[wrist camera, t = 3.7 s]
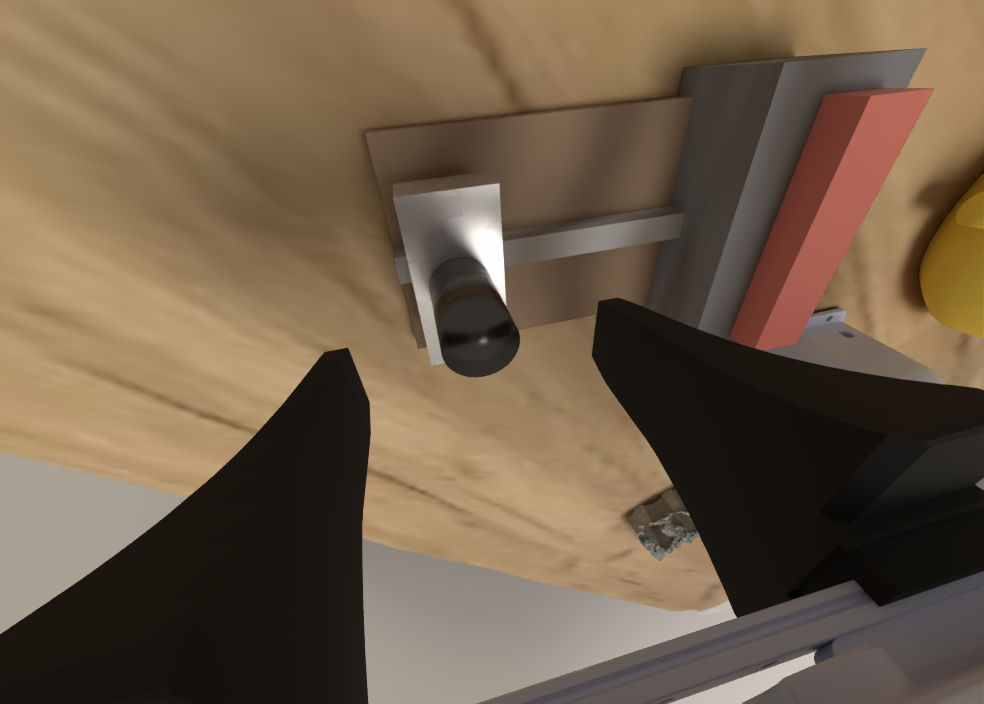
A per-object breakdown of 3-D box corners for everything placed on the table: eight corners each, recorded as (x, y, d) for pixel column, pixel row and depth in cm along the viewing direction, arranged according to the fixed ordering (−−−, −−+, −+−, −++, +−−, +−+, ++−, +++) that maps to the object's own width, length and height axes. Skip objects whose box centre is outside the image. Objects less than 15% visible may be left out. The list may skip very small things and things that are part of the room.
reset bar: (883, 88, 13) (934, 88, 11) (770, 327, 19) (796, 343, 18) (825, 94, 12) (871, 95, 11) (729, 335, 18) (752, 353, 17)
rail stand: (796, 56, 16) (926, 48, 12) (715, 295, 23) (780, 338, 19) (358, 99, 14) (346, 106, 10) (420, 352, 21) (427, 414, 17)
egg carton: (712, 461, 37) (742, 497, 34) (721, 490, 42) (749, 524, 38) (619, 510, 39) (641, 548, 36) (638, 533, 43) (659, 568, 40)
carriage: (480, 165, 15) (537, 218, 9) (492, 313, 19) (536, 413, 13) (392, 176, 14) (394, 240, 8) (425, 326, 18) (441, 435, 13)
